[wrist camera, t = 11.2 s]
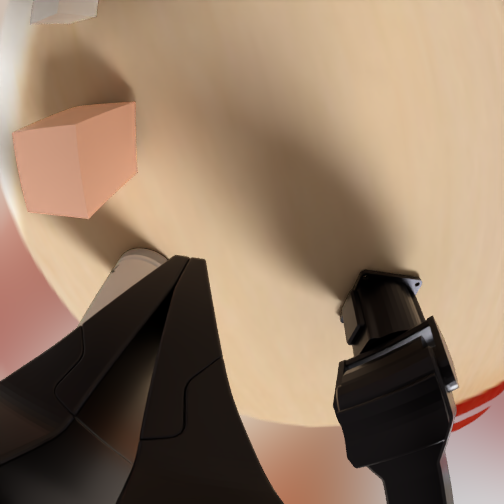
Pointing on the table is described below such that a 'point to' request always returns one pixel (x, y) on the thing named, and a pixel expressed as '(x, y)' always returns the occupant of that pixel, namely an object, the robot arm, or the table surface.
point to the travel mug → (124, 277)
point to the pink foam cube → (76, 158)
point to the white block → (62, 11)
